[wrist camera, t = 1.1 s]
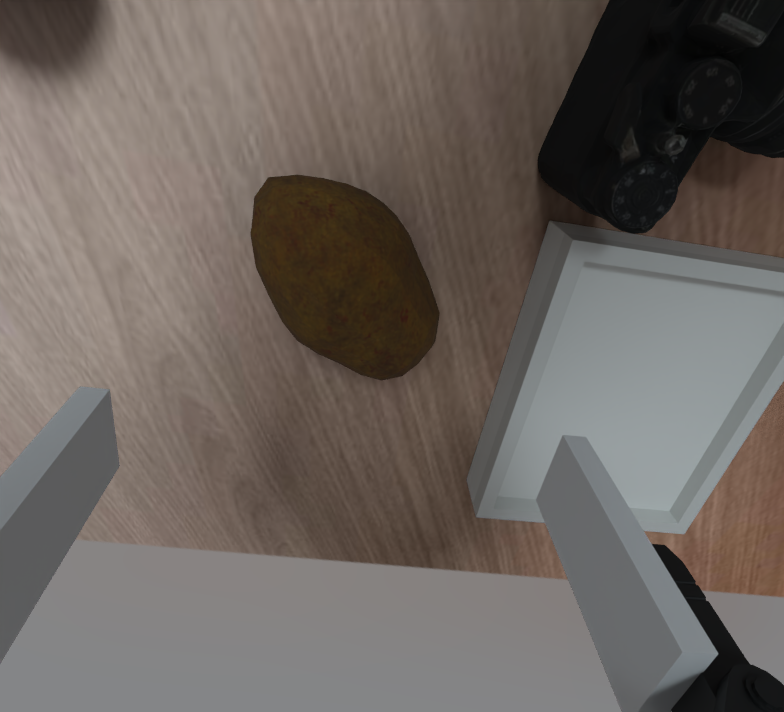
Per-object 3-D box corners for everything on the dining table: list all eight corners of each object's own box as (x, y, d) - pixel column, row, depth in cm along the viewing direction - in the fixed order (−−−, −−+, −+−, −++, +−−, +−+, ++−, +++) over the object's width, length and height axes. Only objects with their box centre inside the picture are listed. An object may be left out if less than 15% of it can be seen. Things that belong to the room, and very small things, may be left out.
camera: (669, 238, 30) (794, 308, 21) (511, 171, 28) (579, 219, 19) (850, -36, 24) (1131, -94, 15) (666, -153, 21) (874, -303, 13)
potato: (372, 366, 33) (375, 442, 26) (218, 230, 28) (174, 282, 22) (468, 285, 31) (498, 347, 24) (318, 121, 26) (303, 141, 19)
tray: (549, 220, 29) (573, 239, 26) (796, 260, 31) (847, 282, 28) (466, 479, 39) (475, 517, 35) (658, 496, 41) (684, 534, 37)
